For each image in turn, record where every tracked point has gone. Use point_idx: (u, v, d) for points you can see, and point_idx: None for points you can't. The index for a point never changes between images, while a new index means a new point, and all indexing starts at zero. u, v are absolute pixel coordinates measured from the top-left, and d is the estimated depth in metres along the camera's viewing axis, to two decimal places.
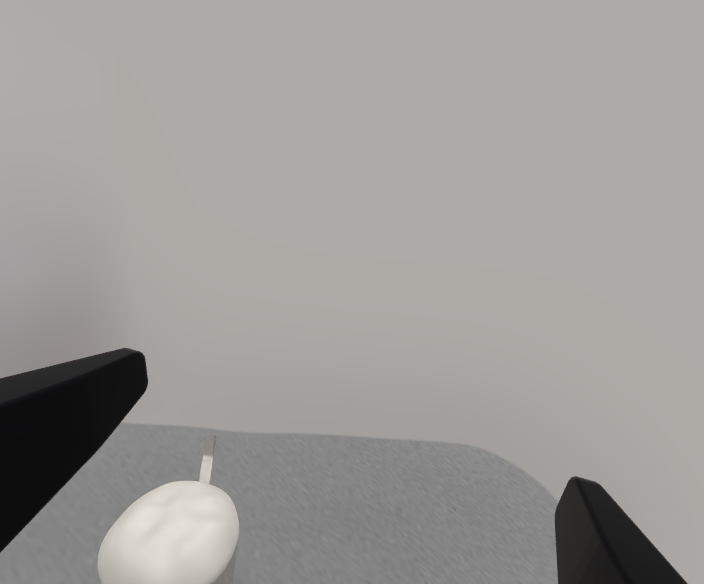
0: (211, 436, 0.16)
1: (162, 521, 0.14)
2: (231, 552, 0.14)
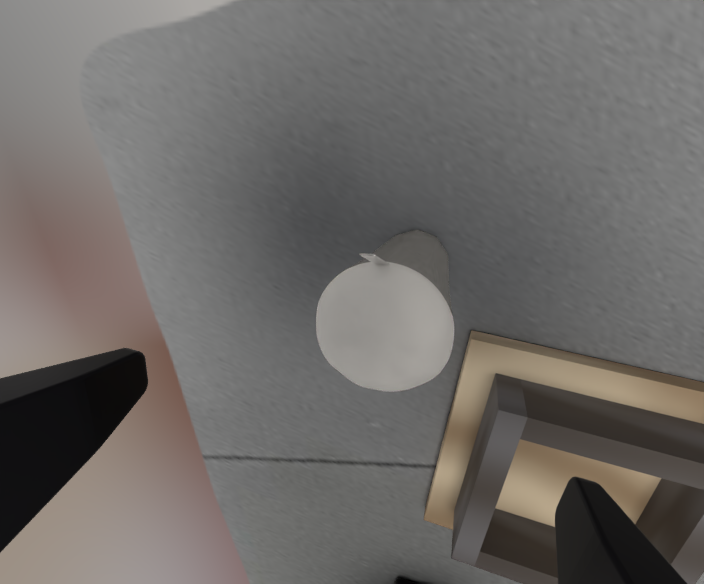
0: (369, 254, 0.10)
1: (368, 345, 0.12)
2: None
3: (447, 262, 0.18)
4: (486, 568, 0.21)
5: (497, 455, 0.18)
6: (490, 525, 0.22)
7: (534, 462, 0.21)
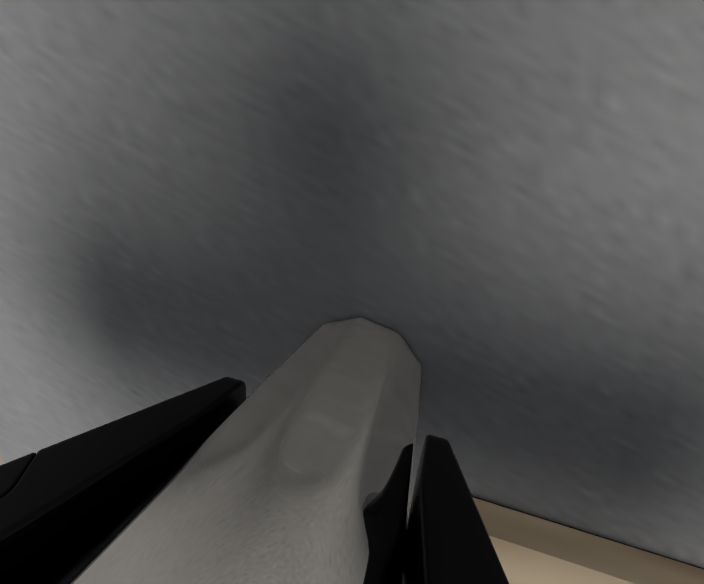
0: None
1: None
2: None
3: (414, 410, 0.08)
4: None
5: None
6: None
7: None
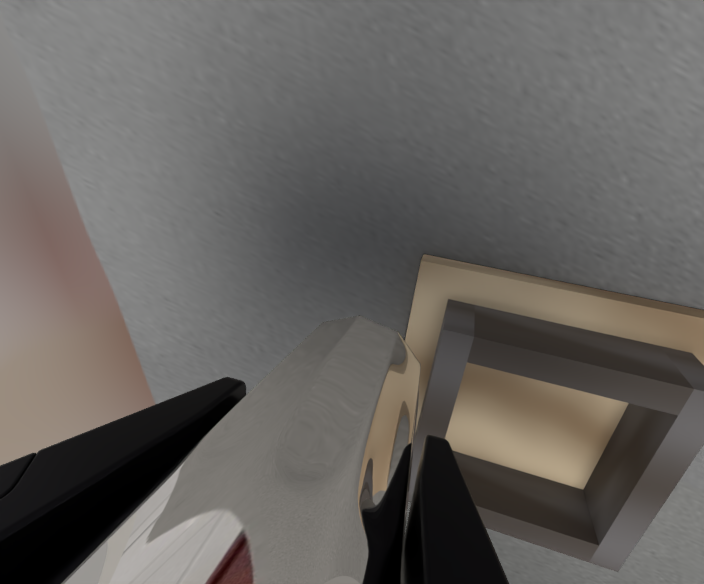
0: None
1: None
2: None
3: (413, 408, 0.08)
4: None
5: (443, 382, 0.16)
6: None
7: (491, 398, 0.20)
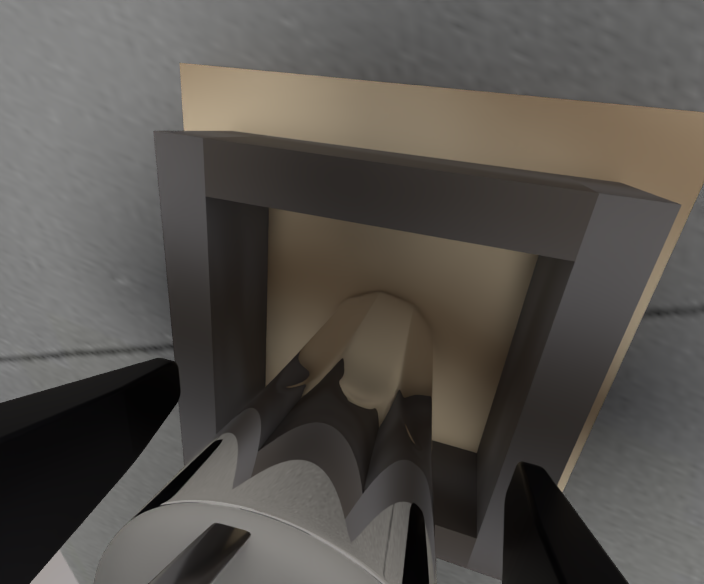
0: None
1: None
2: None
3: (431, 364, 0.10)
4: None
5: (183, 244, 0.09)
6: None
7: (323, 305, 0.12)
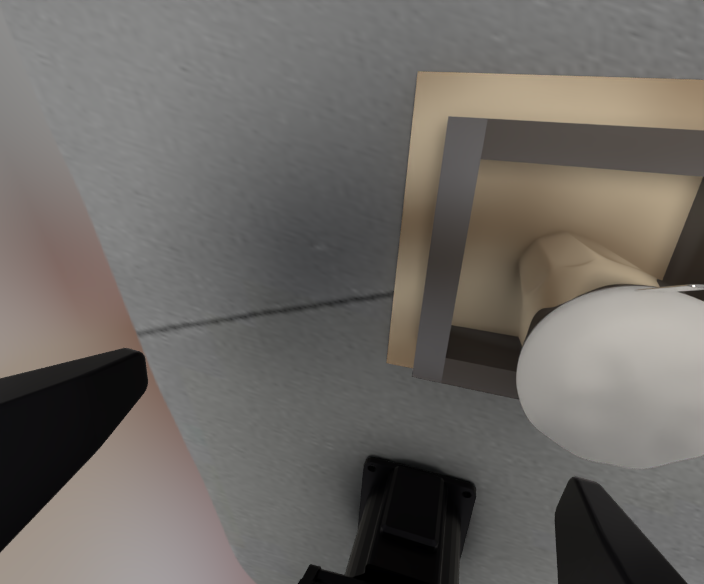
0: None
1: (628, 411, 0.08)
2: None
3: None
4: (455, 382, 0.16)
5: (453, 195, 0.13)
6: (462, 340, 0.17)
7: (512, 247, 0.16)
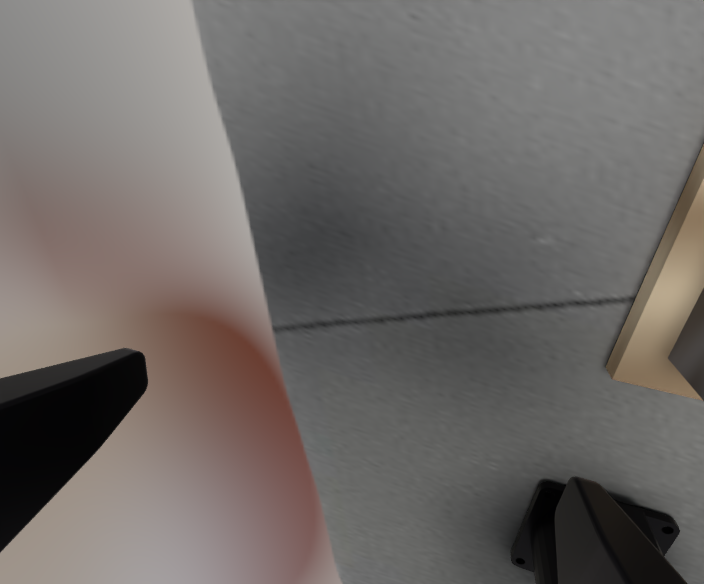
0: None
1: None
2: None
3: None
4: None
5: None
6: None
7: None
